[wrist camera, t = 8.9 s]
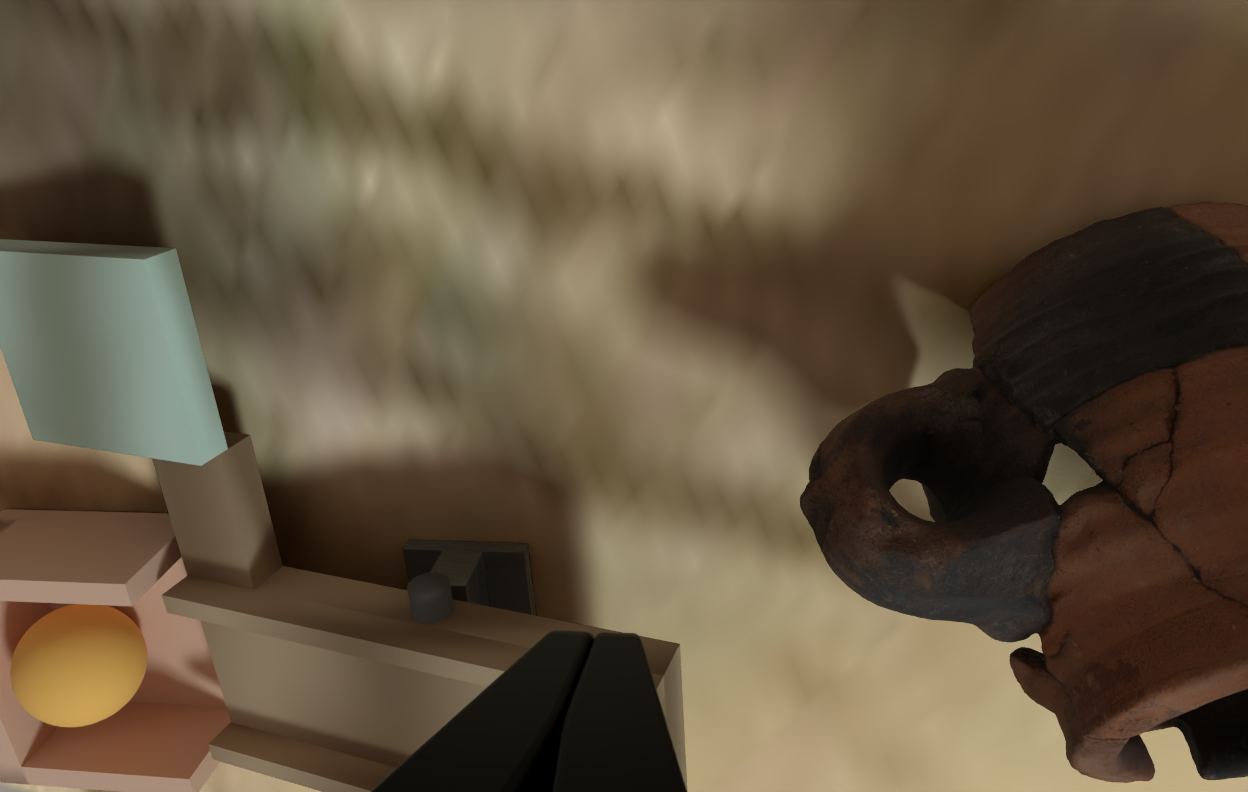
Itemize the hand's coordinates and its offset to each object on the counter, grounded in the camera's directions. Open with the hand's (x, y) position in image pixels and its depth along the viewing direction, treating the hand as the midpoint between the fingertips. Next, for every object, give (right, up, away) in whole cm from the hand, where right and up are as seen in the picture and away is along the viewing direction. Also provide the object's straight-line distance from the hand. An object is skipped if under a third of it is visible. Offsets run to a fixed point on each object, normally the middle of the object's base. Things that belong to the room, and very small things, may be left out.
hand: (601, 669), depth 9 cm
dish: (-13, -3, +17) cm, 22 cm away
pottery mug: (+10, +2, +11) cm, 15 cm away
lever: (-6, -1, +13) cm, 14 cm away
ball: (-13, -4, +15) cm, 21 cm away
